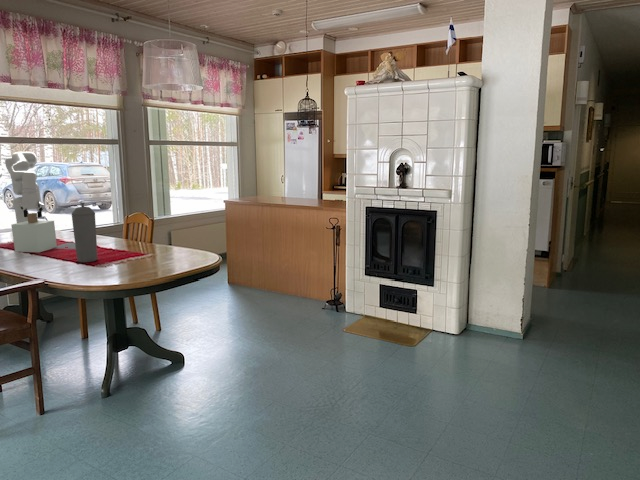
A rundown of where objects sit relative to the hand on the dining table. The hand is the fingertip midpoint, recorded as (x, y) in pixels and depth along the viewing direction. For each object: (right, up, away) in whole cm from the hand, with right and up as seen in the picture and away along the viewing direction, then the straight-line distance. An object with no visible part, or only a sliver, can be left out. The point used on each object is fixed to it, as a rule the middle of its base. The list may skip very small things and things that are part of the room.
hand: (33, 217), depth 314 cm
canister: (+48, -28, -26) cm, 61 cm away
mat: (+18, -19, +16) cm, 30 cm away
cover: (0, -21, +4) cm, 22 cm away
